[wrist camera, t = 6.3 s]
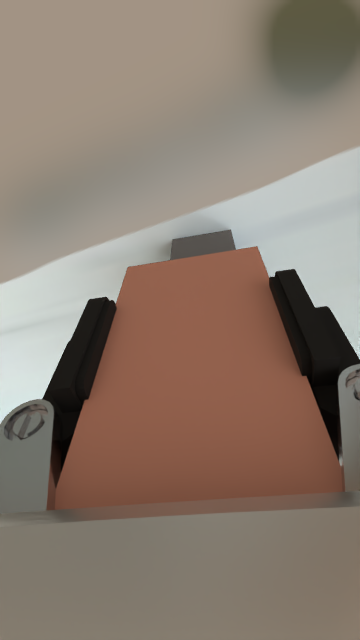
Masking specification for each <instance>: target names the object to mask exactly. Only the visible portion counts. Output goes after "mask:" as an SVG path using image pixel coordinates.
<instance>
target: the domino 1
mask: <svg viewBox="0 0 360 640" xmlns="http://www.w3.org/2000/svg"><path fill="white" fill-rule="evenodd" d="M232 250H236V249H235V245H234V241H233V237H232V232H231V230H227V231H221V232H215V233H209V234H203V235H197V236H191V237H185V238H179V239H173V241H172V250H171V259H170V260H175V259H182V258H188V257H194V256H200V255H207V254H213V253H219V252H225V251H232Z"/></svg>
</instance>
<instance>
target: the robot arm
mask: <svg viewBox="0 0 360 640" xmlns="http://www.w3.org/2000/svg"><path fill="white" fill-rule="evenodd" d="M269 287H270V290H271V292H272V295H273V298H274V301H275V303H276V306H277V309H278V312H279V314H280V317H281V320H282V323H283V325H284V328H285V331H286V334H287V336H288V339H289V342H290V345H291V347H292V350H293V353H294V356H295V358H296V361H297V364H298V367H299V369H300V372H301V375H302V376H307V379H308V382H309V384H310V387H311V389H312V392H313V395H314V397H315V400H316V403H317V405H318V408H319V411H320V413H321V416H322V418H323V421H324V424H325V426H326V429H327V432H328V434H329V437H330V440H331V442H332V445H333V448H334V450H335V453H336V455H337V458H338V461H339V463H340V466H341V473H342V489H343V492H330V493H313V494H296V495H279V496H262V497H245V498H228V499H212V500H197V501H181V502H165V503H149V504H134V505H119V506H104V507H89V508H75V509H60V510H55V496H56V487H57V484H58V481H59V478H60V475H61V472H62V469H63V466H64V463H65V459H66V456H67V453H68V450H69V447H70V444H71V441H72V438H73V435H74V432H75V429H76V426H77V422H78V419H79V416H80V413H81V410H82V407H83V404H84V401H85V400H88V399H89V396H90V393H91V389H92V386H93V383H94V380H95V377H96V373H97V370H98V367H99V364H100V361H101V357H102V354H103V351H104V348H105V345H106V341H107V338H108V335H109V332H110V329H111V325H112V322H113V319H114V316H115V313H116V310H117V307H116V305H115V302H114V301H113V300H111V301H109V299H108V298H107V297H102V298H95V299H90V300H89V301H88V303H87V305H86V307H85V309H84V311H83V314H82V316H81V318H80V320H79V323H78V325H77V327H76V329H75V332H74V334H73V336H72V338H71V341H69V342H68V344H67V346H66V348H65V350H64V352H63V355H62V357H61V359H60V361H59V363H58V366H57V368H56V370H55V372H54V374H53V377H52V379H51V381H50V383H49V385H48V388H47V390H46V392H45V394H44V397H43V399H42V400H40V399H37V400H32V401H28V402H26V403H23V404H21V405H20V406H18V407H16V408H15V409H13V410H12V411H11V412H10V413H9V414H8V415H7V416H6V417H5V418H4V420H3V421H2V422H1V424H0V640H360V359H359V358H358V356H357V354H356V353H355V351H354V349H353V347H352V346H351V344H350V342H349V341H348V339H347V337H346V336H345V334H344V332H343V330H342V329H341V327H340V325H339V324H338V322H337V320H336V318H335V317H334V315H333V313H332V312H331V310H330V309H329V307H327V306H325V307H317V308H315V307H314V305H313V303H312V301H311V299H310V297H309V295H308V294H307V292H306V290H305V288H304V286H303V284H302V282H301V280H300V278H299V276H298V275H297V273H296V271H295V269H291V270H284V271H277V272H276V273H275V277H270V278H269Z"/></svg>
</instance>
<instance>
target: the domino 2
mask: <svg viewBox="0 0 360 640" xmlns="http://www.w3.org/2000/svg"><path fill="white" fill-rule="evenodd" d="M116 307H117V310H116V313H115V316H114V319H113V322H112V325H111V329H110V332H109V335H108V338H107V341H106V345H105V348H104V351H103V354H102V357H101V361H100V364H99V367H98V370H97V373H96V377H95V380H94V383H93V386H92V389H91V393H90V396H89V399H88V400H85V401H84V404H83V407H82V410H81V413H80V416H79V419H78V422H77V426H76V429H75V432H74V435H73V438H72V441H71V444H70V447H69V450H68V453H67V456H66V459H65V463H64V466H63V469H62V472H61V475H60V478H59V481H58V484H57V487H56V496H55V510H60V509H75V508H89V507H104V506H119V505H134V504H149V503H165V502H181V501H197V500H212V499H228V498H245V497H262V496H279V495H296V494H313V493H330V492H343V489H342V473H341V466H340V463H339V461H338V458H337V455H336V453H335V450H334V448H333V445H332V442H331V440H330V437H329V434H328V432H327V429H326V426H325V424H324V421H323V418H322V416H321V413H320V411H319V408H318V405H317V403H316V400H315V397H314V395H313V392H312V389H311V387H310V384H309V382H308V379H307V376H302V375H301V372H300V369H299V367H298V364H297V361H296V358H295V356H294V353H293V350H292V347H291V345H290V342H289V339H288V336H287V334H286V331H285V328H284V325H283V323H282V320H281V317H280V314H279V312H278V309H277V306H276V303H275V301H274V298H273V295H272V292H271V290H270V287H269V276H268V273H267V271H266V268H265V266H264V263H263V260H262V258H261V255H260V252H259V250H258V247H257V246H256V247H250V248H244V249H238V250H232V251H225V252H219V253H213V254H207V255H200V256H194V257H188V258H182V259H175V260H169V261H163V262H157V263H150V264H144V265H138V266H132V267H128V268H127V271H126V274H125V277H124V281H123V284H122V287H121V290H120V293H119V296H118V299H117V302H116Z"/></svg>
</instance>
